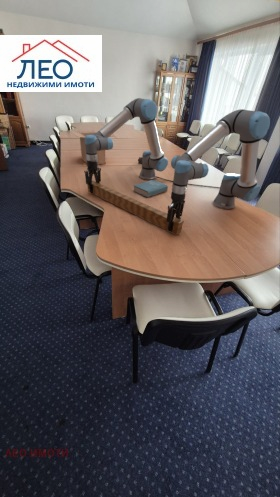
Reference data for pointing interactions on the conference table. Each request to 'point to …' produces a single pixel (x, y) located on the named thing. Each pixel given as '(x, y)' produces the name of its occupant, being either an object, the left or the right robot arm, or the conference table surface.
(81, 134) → the box
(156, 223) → the bar
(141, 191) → the book
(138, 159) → the laser sight
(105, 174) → the conference table surface
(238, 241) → the conference table surface
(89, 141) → the left robot arm
